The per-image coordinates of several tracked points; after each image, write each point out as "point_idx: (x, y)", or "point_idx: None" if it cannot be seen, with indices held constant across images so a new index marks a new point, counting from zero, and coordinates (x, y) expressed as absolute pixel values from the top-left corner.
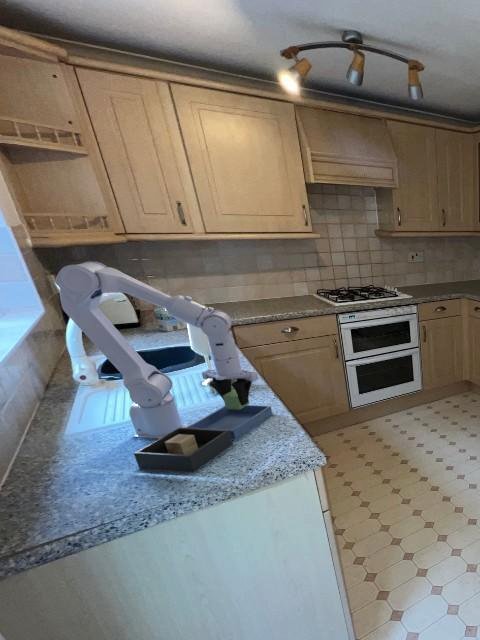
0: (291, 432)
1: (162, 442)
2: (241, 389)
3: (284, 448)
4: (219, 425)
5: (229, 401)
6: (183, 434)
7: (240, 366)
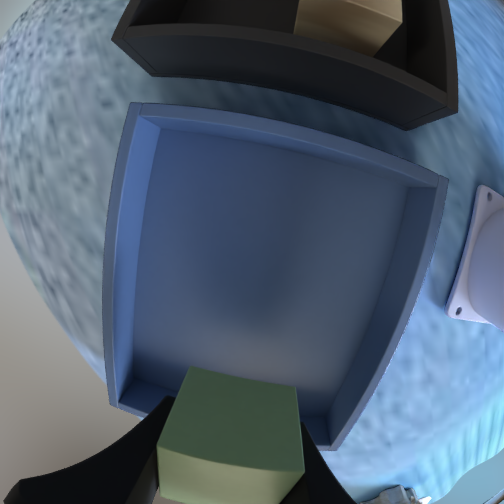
0: (8, 205)
1: (431, 15)
2: (58, 471)
3: (9, 97)
4: (324, 297)
5: (250, 424)
6: (371, 8)
7: None
